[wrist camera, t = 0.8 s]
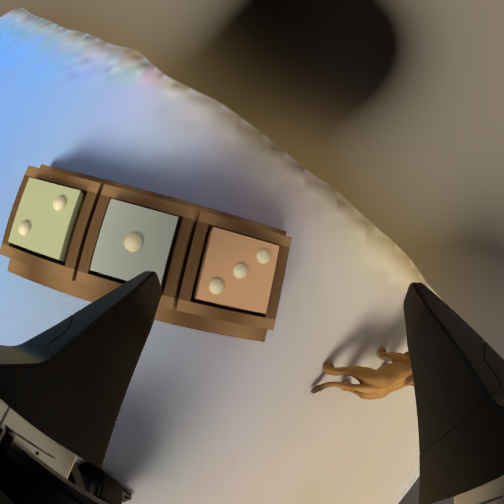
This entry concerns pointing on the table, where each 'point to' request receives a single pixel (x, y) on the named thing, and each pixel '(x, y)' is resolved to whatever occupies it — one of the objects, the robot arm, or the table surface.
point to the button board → (178, 263)
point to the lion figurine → (373, 376)
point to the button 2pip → (47, 218)
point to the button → (133, 241)
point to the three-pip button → (236, 271)
